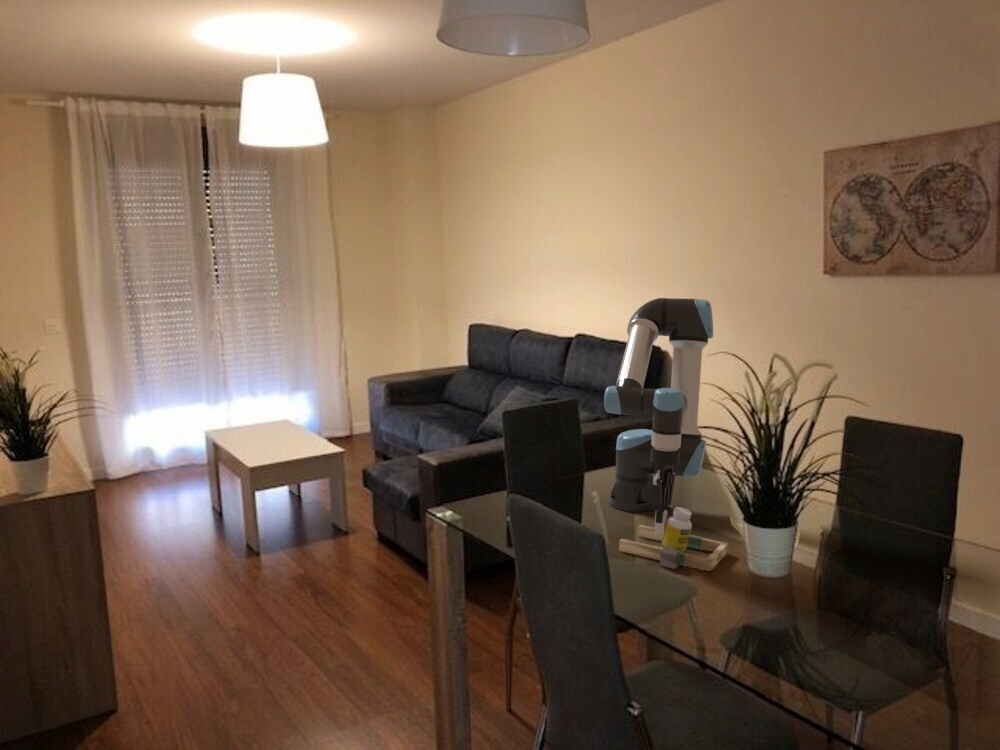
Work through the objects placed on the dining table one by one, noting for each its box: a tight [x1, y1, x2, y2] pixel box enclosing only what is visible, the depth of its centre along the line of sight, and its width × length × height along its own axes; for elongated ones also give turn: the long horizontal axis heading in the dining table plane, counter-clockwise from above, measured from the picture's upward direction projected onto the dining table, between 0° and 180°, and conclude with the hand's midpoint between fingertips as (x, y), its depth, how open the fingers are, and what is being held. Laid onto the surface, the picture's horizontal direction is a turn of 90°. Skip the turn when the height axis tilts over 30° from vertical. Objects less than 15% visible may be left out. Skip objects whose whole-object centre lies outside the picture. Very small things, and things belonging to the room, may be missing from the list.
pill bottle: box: [660, 506, 693, 552], centre depth 216 cm, size 6×6×12 cm
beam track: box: [618, 524, 729, 570], centre depth 216 cm, size 18×25×4 cm
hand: (660, 533), depth 218 cm, fingers closed
